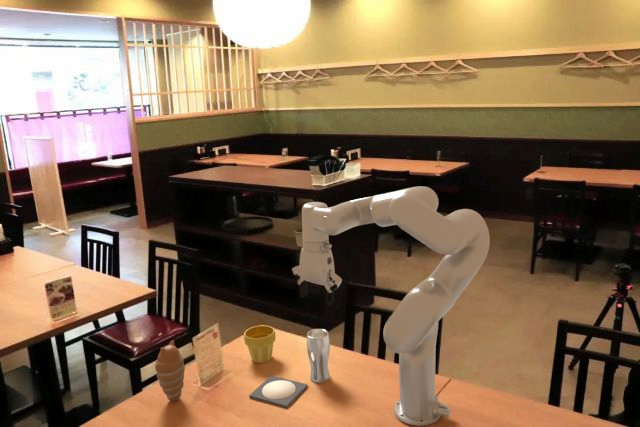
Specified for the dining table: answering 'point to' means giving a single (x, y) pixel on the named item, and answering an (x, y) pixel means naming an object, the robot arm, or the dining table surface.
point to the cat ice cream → (170, 371)
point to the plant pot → (260, 342)
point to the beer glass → (318, 354)
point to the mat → (278, 391)
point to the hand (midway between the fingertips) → (316, 299)
